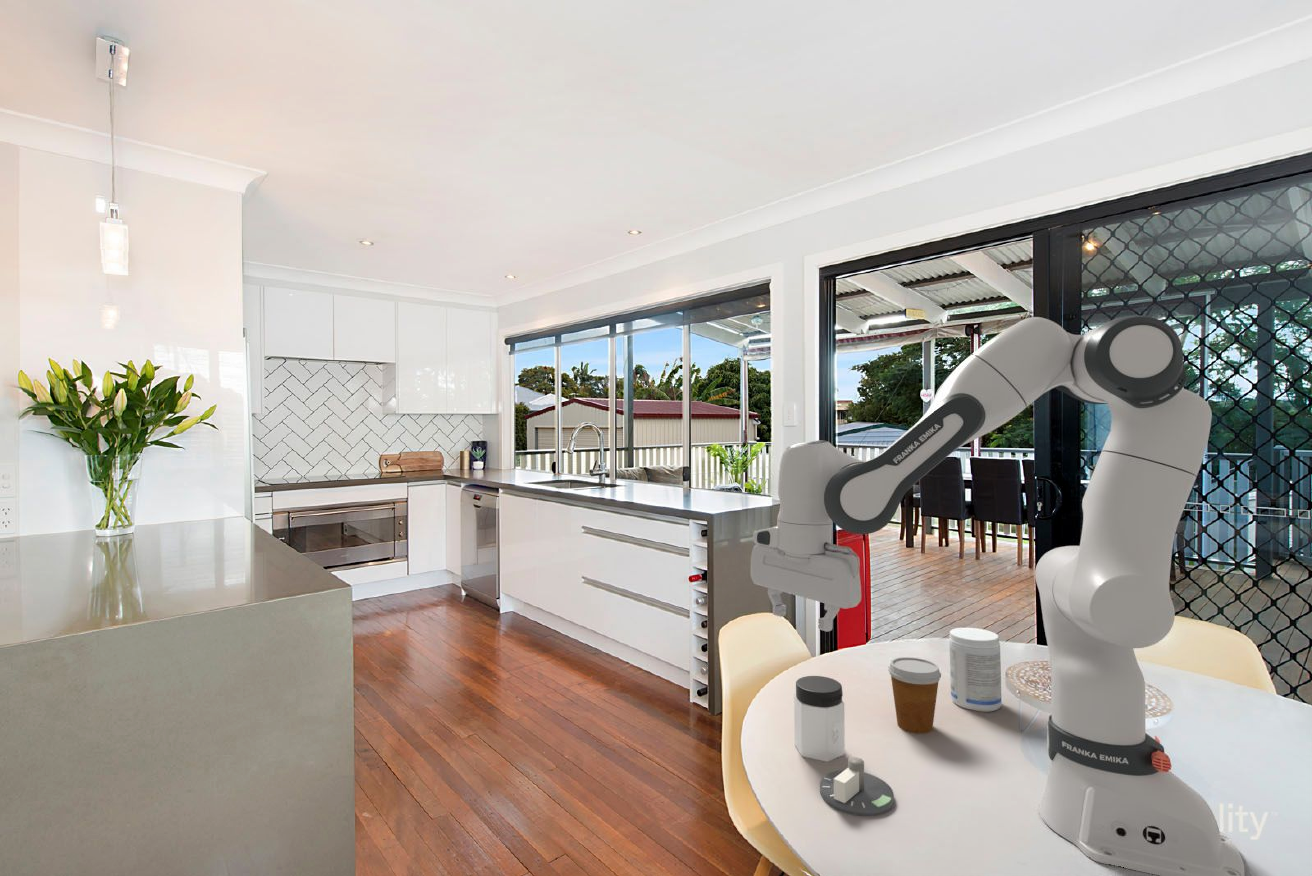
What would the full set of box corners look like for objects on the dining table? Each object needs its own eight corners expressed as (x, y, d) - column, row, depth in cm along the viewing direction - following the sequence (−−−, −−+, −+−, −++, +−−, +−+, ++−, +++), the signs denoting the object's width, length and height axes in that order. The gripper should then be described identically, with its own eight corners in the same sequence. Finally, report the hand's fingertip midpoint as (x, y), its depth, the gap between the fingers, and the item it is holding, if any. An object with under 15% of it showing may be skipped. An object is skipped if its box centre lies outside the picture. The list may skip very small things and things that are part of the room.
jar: (819, 767, 108) (818, 697, 108) (785, 747, 115) (784, 682, 115) (854, 752, 113) (853, 685, 113) (819, 734, 120) (818, 671, 120)
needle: (852, 780, 101) (852, 755, 101) (867, 786, 99) (866, 761, 99) (832, 797, 96) (831, 771, 96) (846, 804, 95) (846, 777, 95)
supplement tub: (1010, 705, 132) (1009, 635, 132) (987, 718, 126) (986, 644, 126) (964, 690, 140) (963, 624, 140) (940, 701, 134) (940, 632, 134)
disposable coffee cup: (890, 734, 120) (889, 671, 120) (887, 713, 129) (886, 654, 129) (945, 741, 117) (944, 676, 117) (938, 719, 126) (937, 658, 126)
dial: (901, 791, 101) (901, 782, 101) (882, 826, 92) (882, 817, 92) (833, 770, 107) (833, 762, 107) (809, 802, 98) (809, 793, 98)
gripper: (871, 547, 98) (868, 635, 99) (769, 528, 114) (767, 605, 115) (847, 551, 94) (844, 643, 95) (745, 531, 110) (743, 610, 111)
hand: (801, 622), depth 105 cm, fingers open, 8 cm apart
